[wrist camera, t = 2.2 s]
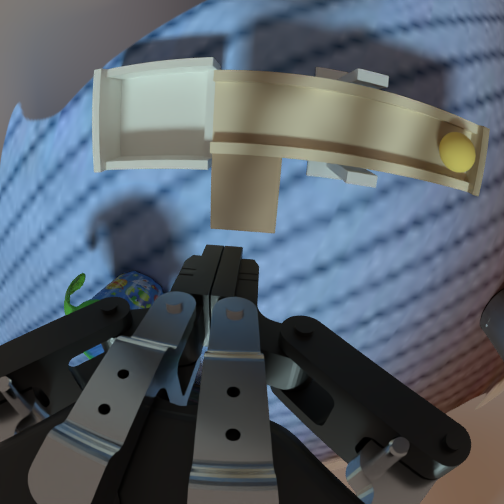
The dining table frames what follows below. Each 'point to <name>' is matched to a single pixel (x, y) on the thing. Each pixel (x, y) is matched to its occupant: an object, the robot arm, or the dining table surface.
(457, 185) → the lever
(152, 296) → the snack cup
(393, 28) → the dining table surface
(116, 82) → the tray
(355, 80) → the stand
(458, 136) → the ball
